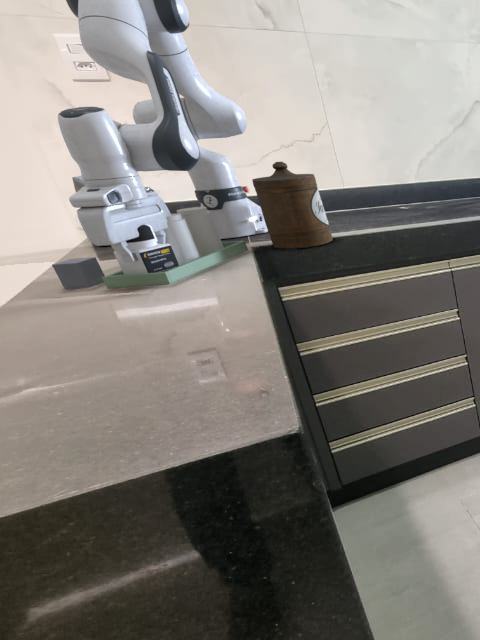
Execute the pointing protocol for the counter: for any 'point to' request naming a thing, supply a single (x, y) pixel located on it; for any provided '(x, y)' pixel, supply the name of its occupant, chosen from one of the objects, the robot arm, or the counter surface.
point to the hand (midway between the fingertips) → (147, 256)
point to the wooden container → (292, 209)
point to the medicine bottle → (147, 254)
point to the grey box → (79, 273)
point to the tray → (175, 269)
